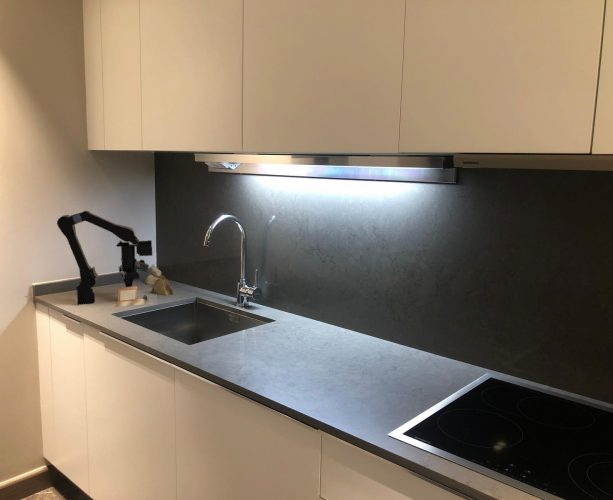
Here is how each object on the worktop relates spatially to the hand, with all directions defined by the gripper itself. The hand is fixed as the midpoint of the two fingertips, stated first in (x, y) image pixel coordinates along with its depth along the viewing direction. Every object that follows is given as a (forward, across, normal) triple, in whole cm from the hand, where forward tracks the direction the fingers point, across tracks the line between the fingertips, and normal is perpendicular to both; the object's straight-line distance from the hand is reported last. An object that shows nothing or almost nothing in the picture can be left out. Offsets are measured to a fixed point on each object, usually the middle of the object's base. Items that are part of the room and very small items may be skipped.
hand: (129, 291), depth 243 cm
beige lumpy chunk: (+5, +33, -16) cm, 37 cm away
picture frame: (+4, 0, +1) cm, 4 cm away
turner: (+4, -3, -7) cm, 9 cm away
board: (+5, -4, 0) cm, 6 cm away
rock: (+5, +8, -16) cm, 19 cm away
